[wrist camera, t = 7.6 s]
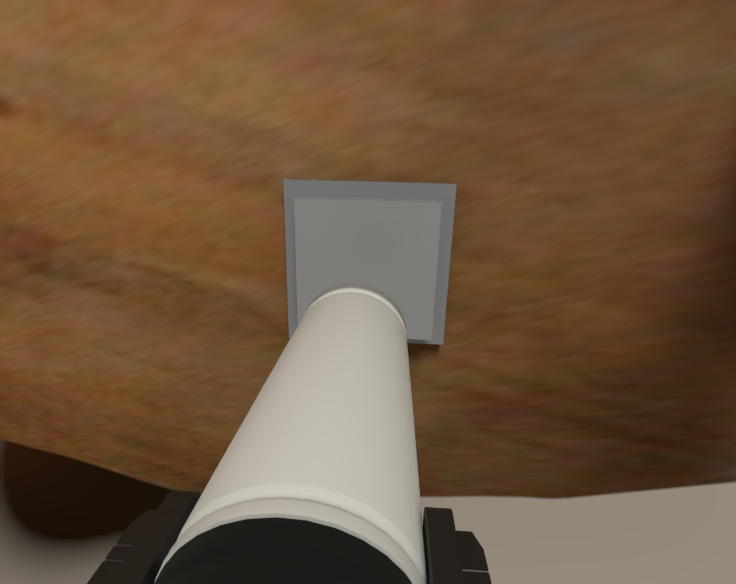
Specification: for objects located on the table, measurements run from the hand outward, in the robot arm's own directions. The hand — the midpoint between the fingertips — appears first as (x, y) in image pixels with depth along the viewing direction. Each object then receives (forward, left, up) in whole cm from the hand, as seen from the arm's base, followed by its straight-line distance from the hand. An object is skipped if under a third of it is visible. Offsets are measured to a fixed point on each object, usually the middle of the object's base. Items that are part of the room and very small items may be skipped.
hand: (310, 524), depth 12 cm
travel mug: (0, 0, -14) cm, 14 cm away
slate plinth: (0, 0, -32) cm, 32 cm away
